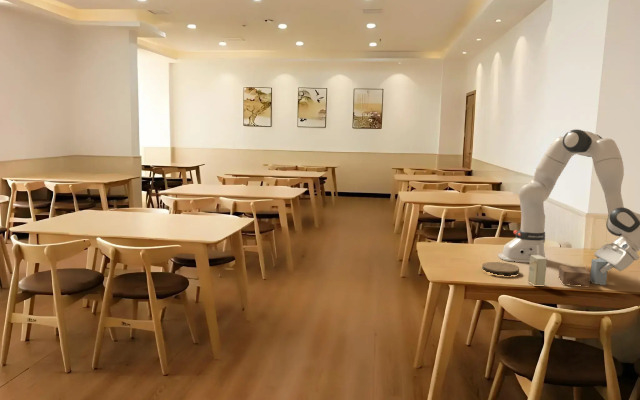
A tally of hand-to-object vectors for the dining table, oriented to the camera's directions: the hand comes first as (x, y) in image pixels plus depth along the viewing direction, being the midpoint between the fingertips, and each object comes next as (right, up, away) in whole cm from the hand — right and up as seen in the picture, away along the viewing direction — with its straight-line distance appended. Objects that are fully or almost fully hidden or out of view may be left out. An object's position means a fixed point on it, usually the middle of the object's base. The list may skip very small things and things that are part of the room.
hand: (597, 269), depth 212 cm
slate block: (+1, -6, +1) cm, 6 cm away
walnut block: (-9, -6, +2) cm, 11 cm away
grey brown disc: (-35, -4, +17) cm, 39 cm away
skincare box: (-27, -6, -2) cm, 28 cm away
